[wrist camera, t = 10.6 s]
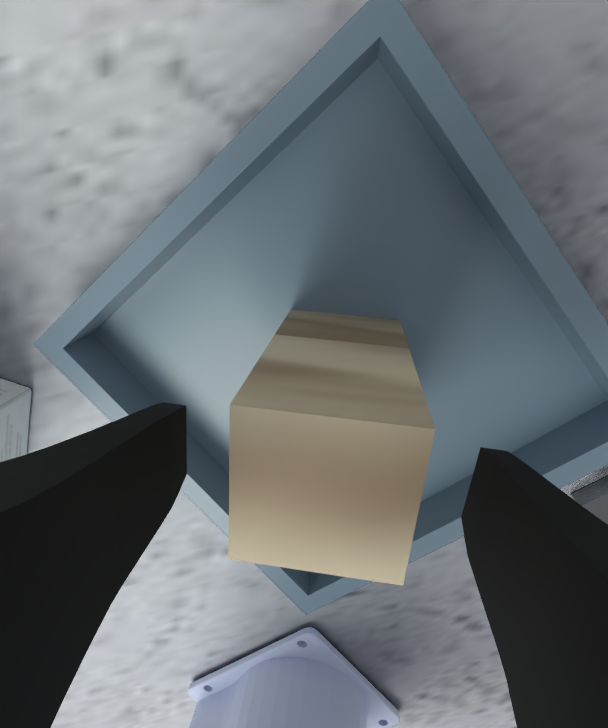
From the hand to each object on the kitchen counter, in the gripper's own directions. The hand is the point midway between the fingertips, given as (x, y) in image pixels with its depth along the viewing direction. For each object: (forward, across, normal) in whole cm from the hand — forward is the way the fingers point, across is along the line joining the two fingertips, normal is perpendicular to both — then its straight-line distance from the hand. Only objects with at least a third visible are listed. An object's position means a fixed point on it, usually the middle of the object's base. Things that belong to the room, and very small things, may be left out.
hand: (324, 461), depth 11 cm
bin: (+7, 0, 0) cm, 7 cm away
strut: (+6, 0, 0) cm, 6 cm away
